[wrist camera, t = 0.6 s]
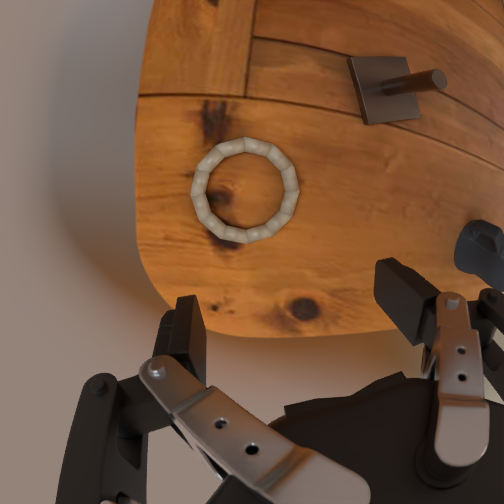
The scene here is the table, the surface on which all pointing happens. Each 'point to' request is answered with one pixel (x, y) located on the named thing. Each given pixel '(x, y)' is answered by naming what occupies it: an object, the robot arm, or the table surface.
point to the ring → (231, 149)
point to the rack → (390, 87)
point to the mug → (482, 252)
